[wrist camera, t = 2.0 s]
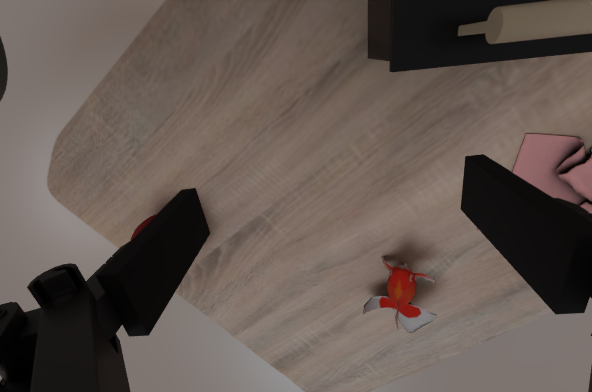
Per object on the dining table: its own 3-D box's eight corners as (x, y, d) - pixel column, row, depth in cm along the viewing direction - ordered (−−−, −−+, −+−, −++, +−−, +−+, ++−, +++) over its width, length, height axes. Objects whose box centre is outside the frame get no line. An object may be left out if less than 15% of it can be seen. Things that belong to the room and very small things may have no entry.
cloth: (543, 278, 48) (554, 289, 46) (446, 206, 44) (453, 214, 41) (679, 185, 40) (699, 192, 38) (577, 85, 36) (594, 87, 34)
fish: (466, 264, 42) (458, 332, 37) (426, 303, 55) (415, 358, 49) (391, 235, 45) (373, 294, 39) (369, 278, 57) (352, 328, 51)
